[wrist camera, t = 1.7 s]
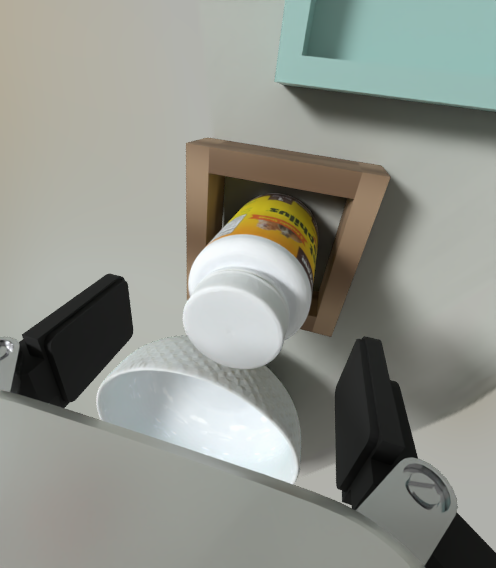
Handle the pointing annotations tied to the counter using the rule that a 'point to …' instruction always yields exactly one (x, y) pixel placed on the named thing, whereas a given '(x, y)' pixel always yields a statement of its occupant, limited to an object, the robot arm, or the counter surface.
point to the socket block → (294, 174)
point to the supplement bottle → (253, 283)
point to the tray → (392, 49)
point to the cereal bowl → (205, 407)
